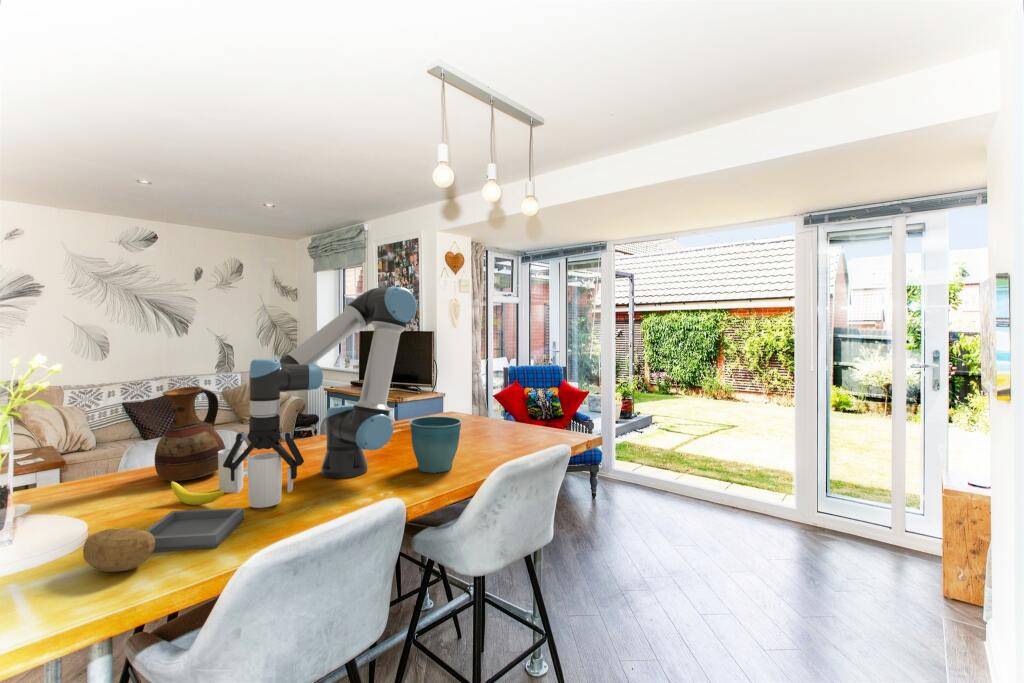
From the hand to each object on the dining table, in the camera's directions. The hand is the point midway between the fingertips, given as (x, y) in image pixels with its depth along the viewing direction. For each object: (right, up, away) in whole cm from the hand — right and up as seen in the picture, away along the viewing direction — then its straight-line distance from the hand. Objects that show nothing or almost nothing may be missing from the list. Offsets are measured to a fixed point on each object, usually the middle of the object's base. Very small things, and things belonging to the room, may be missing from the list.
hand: (264, 491), depth 137 cm
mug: (-17, -4, +16) cm, 23 cm away
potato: (-12, -6, -35) cm, 38 cm away
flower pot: (+42, -4, +39) cm, 57 cm away
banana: (-19, -4, +1) cm, 20 cm away
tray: (-8, -5, -18) cm, 20 cm away
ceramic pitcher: (-38, -3, +28) cm, 47 cm away
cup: (0, -5, 0) cm, 5 cm away
